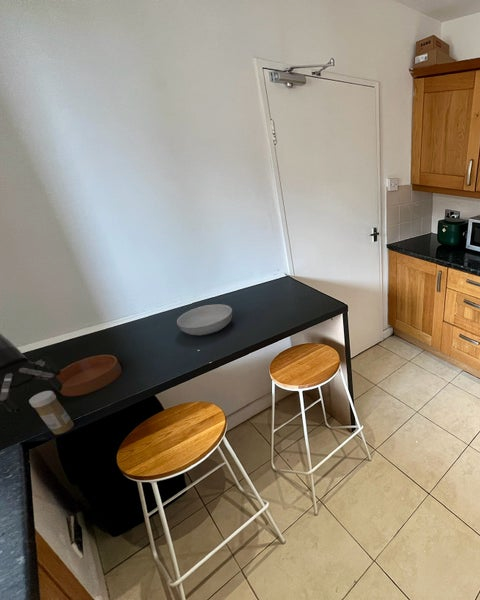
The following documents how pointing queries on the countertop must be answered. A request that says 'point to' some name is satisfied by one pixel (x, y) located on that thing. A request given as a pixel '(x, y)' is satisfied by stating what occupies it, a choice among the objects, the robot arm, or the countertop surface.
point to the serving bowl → (205, 319)
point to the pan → (89, 375)
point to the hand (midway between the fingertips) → (39, 399)
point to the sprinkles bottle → (51, 412)
